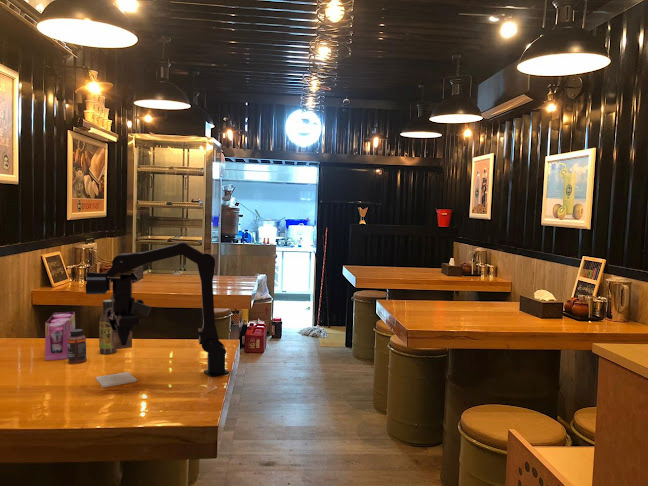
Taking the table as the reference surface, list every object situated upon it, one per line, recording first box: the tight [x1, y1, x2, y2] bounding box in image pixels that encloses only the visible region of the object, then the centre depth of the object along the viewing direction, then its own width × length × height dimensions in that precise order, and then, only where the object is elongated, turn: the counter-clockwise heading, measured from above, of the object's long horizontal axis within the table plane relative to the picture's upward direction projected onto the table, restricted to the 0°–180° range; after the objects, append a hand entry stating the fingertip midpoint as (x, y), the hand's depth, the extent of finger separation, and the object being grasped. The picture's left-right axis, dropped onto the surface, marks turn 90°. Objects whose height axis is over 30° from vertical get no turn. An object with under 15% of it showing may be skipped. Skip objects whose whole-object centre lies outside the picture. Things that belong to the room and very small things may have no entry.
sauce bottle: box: [98, 299, 118, 355], centre depth 198 cm, size 6×6×20 cm
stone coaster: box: [95, 371, 138, 388], centre depth 165 cm, size 10×10×1 cm
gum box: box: [44, 311, 76, 361], centre depth 198 cm, size 24×8×14 cm, turn 20°
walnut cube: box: [111, 330, 133, 350], centre depth 164 cm, size 5×5×5 cm
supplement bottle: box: [67, 328, 87, 364], centre depth 185 cm, size 6×6×11 cm
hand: (121, 343), depth 164 cm, fingers closed on walnut cube, 5 cm apart
